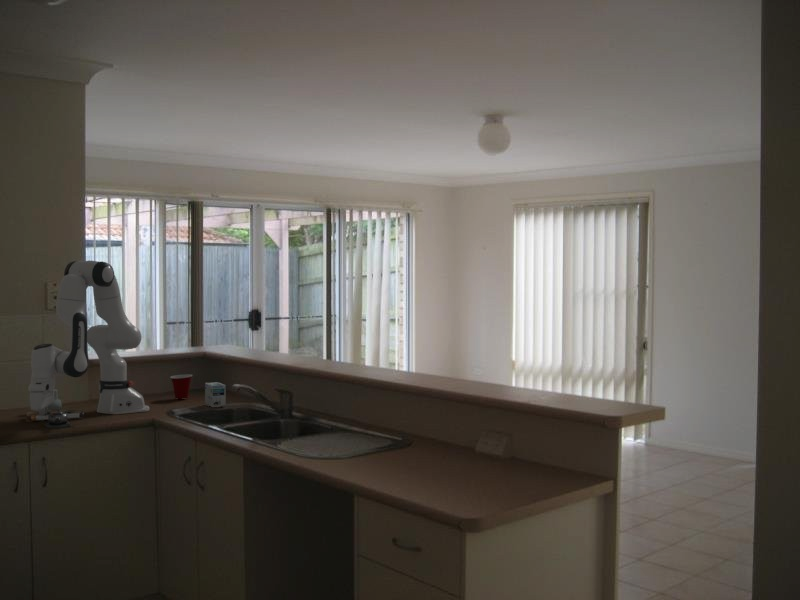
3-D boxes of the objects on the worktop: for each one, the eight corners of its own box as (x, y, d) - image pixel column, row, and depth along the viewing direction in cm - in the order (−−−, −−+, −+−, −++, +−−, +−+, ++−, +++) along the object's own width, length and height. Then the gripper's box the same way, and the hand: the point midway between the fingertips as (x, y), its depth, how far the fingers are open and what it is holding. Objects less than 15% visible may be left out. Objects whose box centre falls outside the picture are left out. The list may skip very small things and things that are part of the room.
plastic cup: (172, 397, 382) (172, 373, 382) (194, 397, 383) (194, 373, 383) (167, 401, 371) (167, 376, 371) (190, 401, 373) (190, 376, 372)
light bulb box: (226, 407, 357) (226, 384, 357) (212, 408, 353) (212, 385, 353) (217, 403, 366) (217, 381, 366) (204, 405, 362) (204, 382, 362)
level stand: (82, 414, 333) (82, 405, 333) (83, 418, 324) (83, 408, 324) (27, 418, 324) (27, 408, 324) (26, 422, 315) (26, 412, 315)
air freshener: (62, 413, 335) (62, 391, 335) (41, 415, 331) (41, 392, 330) (58, 409, 344) (58, 387, 344) (38, 411, 340) (38, 389, 340)
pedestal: (69, 423, 314) (69, 421, 314) (70, 427, 306) (70, 425, 306) (45, 425, 310) (45, 422, 310) (45, 429, 302) (45, 426, 302)
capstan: (83, 417, 321) (83, 406, 321) (85, 426, 303) (85, 414, 303) (31, 420, 313) (31, 408, 313) (30, 429, 295) (30, 417, 295)
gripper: (42, 380, 318) (42, 413, 318) (26, 387, 297) (26, 422, 298) (58, 380, 319) (58, 413, 319) (43, 387, 298) (43, 422, 299)
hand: (43, 418), depth 308 cm, fingers closed
